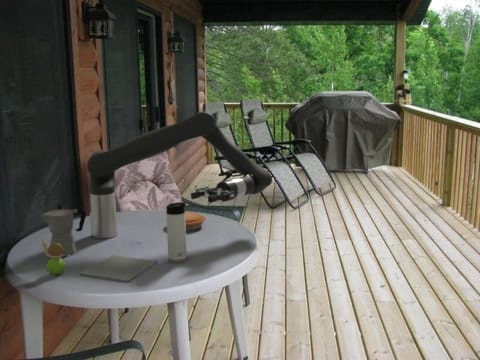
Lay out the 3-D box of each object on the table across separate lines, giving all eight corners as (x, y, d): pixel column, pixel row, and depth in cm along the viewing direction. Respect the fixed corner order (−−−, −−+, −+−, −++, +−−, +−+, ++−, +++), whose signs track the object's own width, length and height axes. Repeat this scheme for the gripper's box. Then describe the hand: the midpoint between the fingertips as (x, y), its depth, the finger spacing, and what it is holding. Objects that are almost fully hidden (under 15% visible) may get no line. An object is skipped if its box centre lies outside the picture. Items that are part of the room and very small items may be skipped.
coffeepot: (45, 260, 186) (40, 209, 182) (42, 252, 194) (38, 203, 191) (91, 253, 192) (87, 204, 189) (86, 245, 201) (83, 198, 197)
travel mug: (184, 263, 181) (182, 205, 177) (165, 262, 183) (163, 204, 179) (190, 257, 187) (188, 200, 183) (171, 256, 189) (169, 200, 185)
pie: (162, 231, 217) (161, 219, 216) (175, 221, 232) (174, 209, 231) (199, 233, 214) (198, 221, 213) (209, 222, 229) (209, 211, 228)
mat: (79, 274, 172) (79, 273, 172) (112, 256, 189) (112, 255, 189) (128, 282, 166) (128, 280, 166) (157, 262, 182) (157, 261, 182)
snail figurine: (47, 271, 176) (43, 235, 173) (67, 270, 176) (64, 235, 174) (42, 277, 170) (39, 241, 168) (63, 276, 171) (60, 240, 169)
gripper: (217, 177, 205) (185, 185, 193) (245, 181, 196) (214, 190, 184) (217, 196, 206) (186, 205, 195) (246, 201, 197) (215, 211, 185)
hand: (200, 198), depth 189 cm, fingers open, 8 cm apart
